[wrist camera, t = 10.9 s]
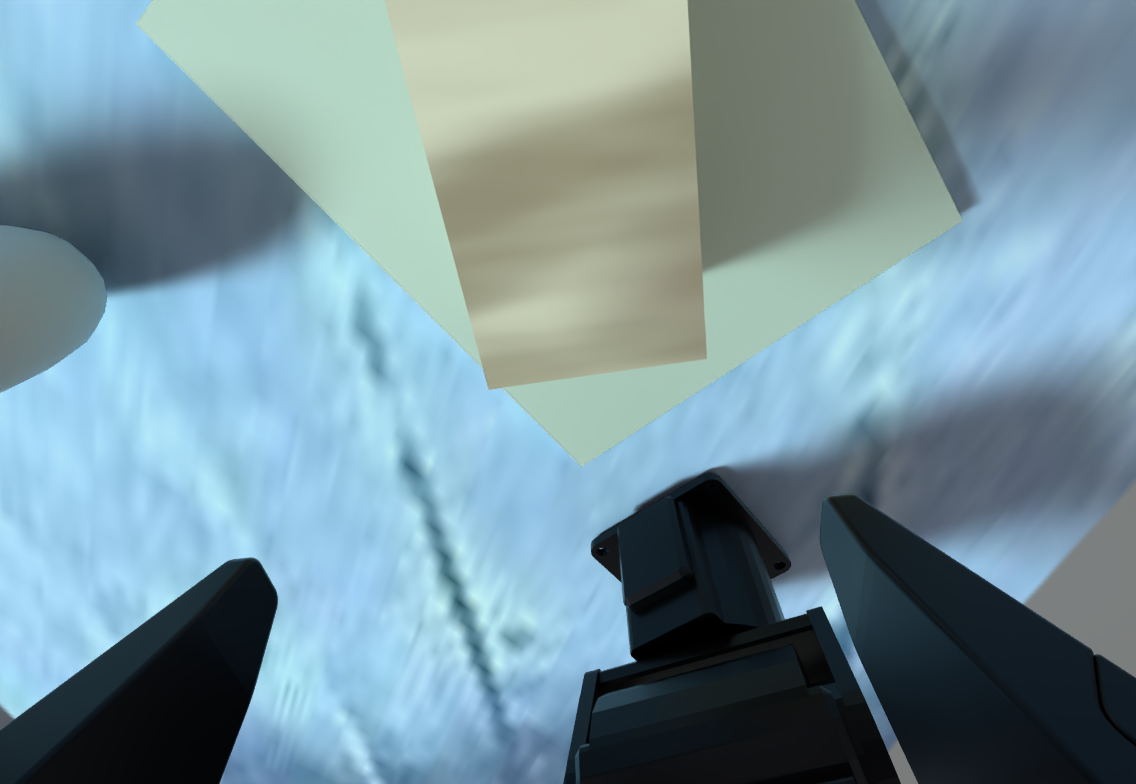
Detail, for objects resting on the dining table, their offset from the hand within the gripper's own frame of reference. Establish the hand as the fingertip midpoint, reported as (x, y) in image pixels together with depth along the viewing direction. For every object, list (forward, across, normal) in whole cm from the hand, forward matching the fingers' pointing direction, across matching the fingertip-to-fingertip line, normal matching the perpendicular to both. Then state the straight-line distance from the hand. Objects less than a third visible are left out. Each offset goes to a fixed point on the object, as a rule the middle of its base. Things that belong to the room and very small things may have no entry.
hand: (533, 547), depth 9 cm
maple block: (+9, -1, 0) cm, 9 cm away
